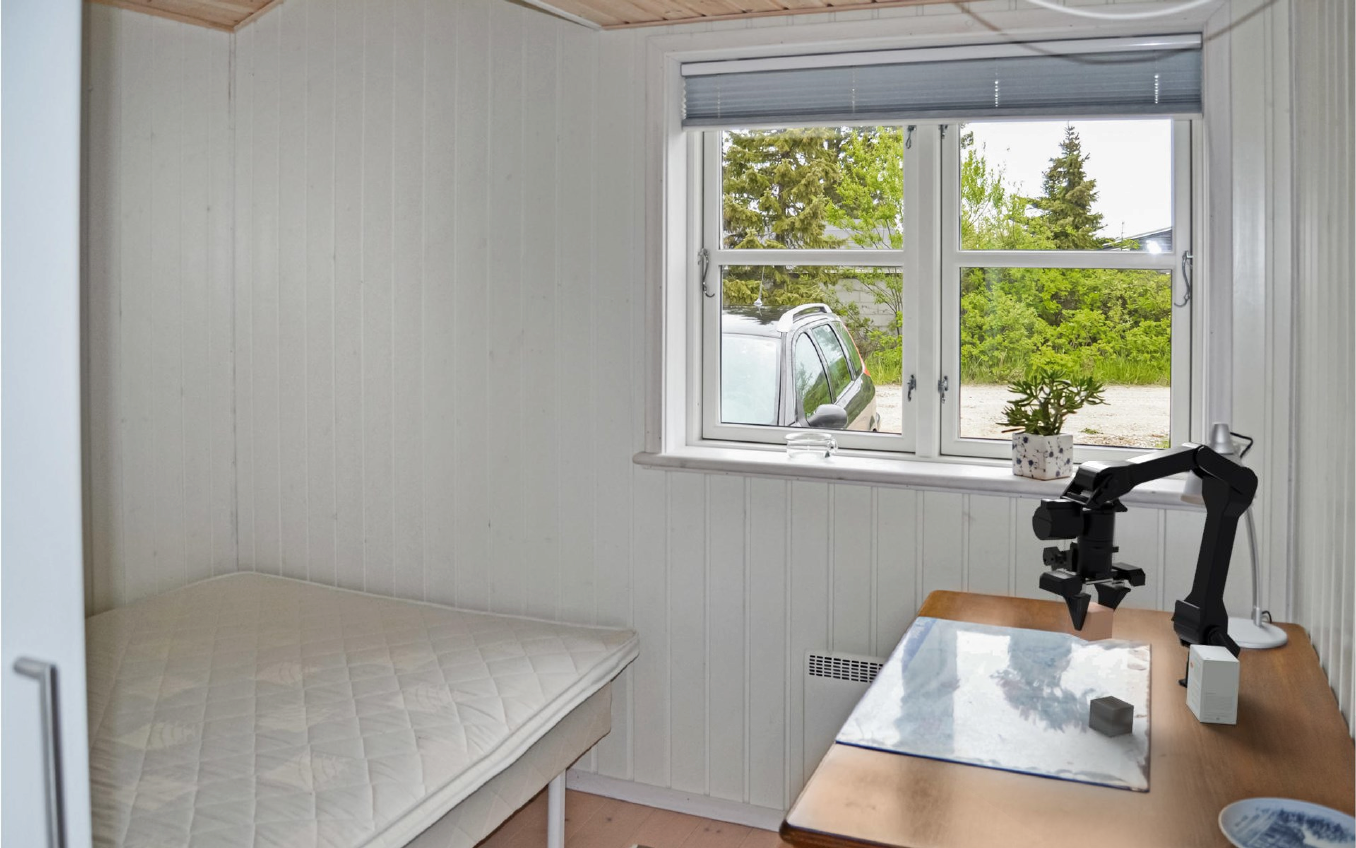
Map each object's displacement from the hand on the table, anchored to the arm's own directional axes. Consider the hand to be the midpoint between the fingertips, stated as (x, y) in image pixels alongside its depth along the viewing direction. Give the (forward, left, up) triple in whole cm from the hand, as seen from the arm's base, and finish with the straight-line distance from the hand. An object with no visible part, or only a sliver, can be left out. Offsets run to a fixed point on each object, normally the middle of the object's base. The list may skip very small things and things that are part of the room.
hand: (1089, 628), depth 180 cm
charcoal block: (+7, +12, -12) cm, 18 cm away
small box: (-13, +14, -12) cm, 23 cm away
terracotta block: (0, 0, -1) cm, 1 cm away
